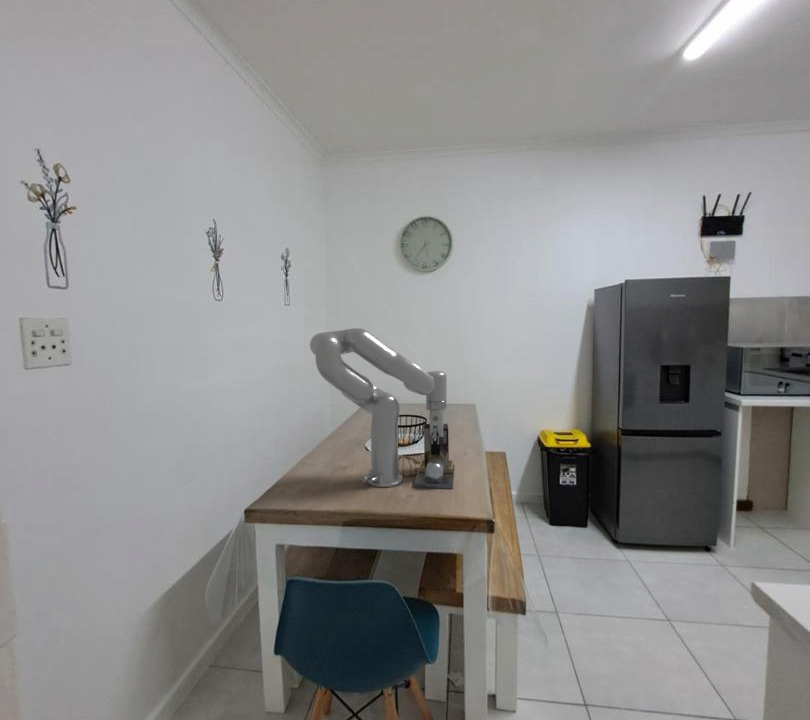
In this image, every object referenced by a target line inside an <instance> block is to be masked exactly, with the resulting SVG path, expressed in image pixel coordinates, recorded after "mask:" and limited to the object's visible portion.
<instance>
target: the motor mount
mask: <svg viewBox="0 0 810 720" xmlns="http://www.w3.org/2000/svg"><path fill="white" fill-rule="evenodd" d="M454 478H455V464H454V459H453V460H450V459H449V468H444V465H443V463H442V461H441V460H439V459H436V458H434V459H431V460H430V461H429V462H428V463H427V467H424V459H421V460H420V463H419V465H418V470H417V473H416V476H415V479H414V480H415V481H414V488H424V489H425V488H426V489H442V490H443V489H447V490H448V489H450V490H454V480H455V479H454Z"/></svg>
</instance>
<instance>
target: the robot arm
mask: <svg viewBox="0 0 810 720" xmlns="http://www.w3.org/2000/svg"><path fill="white" fill-rule="evenodd" d="M309 347H310V351H311V352H312V354H313V355H315V366H316V368H317V370H318V373H319V374H320V376H321V377H322V378H323V379H324V380H325V381H326V382H328V383H329V384H330V385H331V386H333V387H334V388H335V389H337V390H338V391H340V392H341V394H342V396H344V397H345V398H346V399H348V400H349V401H351V402H352V403H354V404H355V405H356V406H358V407H360V408H361V409H362V410H364V411H366V412H367V413H368V414H370V415H371V424H370V456H371V458H370V459H371V460H370V463H371V464H370V465H371V469H369V473H368V474H367V475H364V476H362V477H361V481H362V483H366V482H367V483H368V485H371V487H372V486H374V487H377V488H390V487H395V486H397V485H400V484H402V482H403V480H404V479H403V476H402V474H400V473H399V436H398V435H399V431H398V430H399V428H398V426H399V418H400V410H401V409H400V403H399V401H398V399H397V398H396V397H395V395H393V394H391V393H389V392H386V391H384V390H382V389H380V388H379V387H377V386H376V385H375V384H374V383H372V381H371V380H370V379H369V378H368V377H366V376H365V375H363V374H361V373H360V372H358V371H357V370H355V369H354V368H353V367H351V366H350V365H349V364H348V363H346V362H345V361H344V359H343V358H342V355H345V354H350V353H354V354H356V355H357V356H359V357H361V358H362V359H363V360H365V361H366V362H368V363H369V364H370V365H372V366H373V367H375V368H376V369H377V370H378V371H380V372H381V373H384V374H385V375H388V376H391V377H393V378H395V379H397V380H399V382H402V383H403V386H404V387H405V389H406V390H408V391H409V392H412V393H414V394H418V395H421V396H425V409H426V410H427V411H429V412H428V415H429V416H428V417H429V418H428V422H429V423H428V424H429V427H430V436H431V437H432V442H431V455H440V444H439V438H440V437H443V428H444V424H445V410H447V408H448V407H447V373H446V372H445V371H439V370H431V371H425V370H424V369H423V368H421V367H420V366H418V365H417V364H416V363H414V362H413V361H411V360H410V359H408V358H407V357H405V356H403V355H402V354H401V353H399V352H397V351H396V350H394V349H393V348H391V347H390V346H388V345H387V343H386V344H385V343H384V342H383V341H382V340H380V338H378V337H377V336H375V334H373V333H371V332H370V331H368V330H366V329H364V328H357V327H355V328H347V329H343V330H334V331H333V330H332V331H326V332H325V331H324V332H319V333H317V334H316V333H315V335H314V336H313V337H312V338H311V340H310V342H309ZM437 432H438V435H437ZM431 434H432V435H431ZM439 436H440V437H439ZM437 438H438V439H437Z"/></svg>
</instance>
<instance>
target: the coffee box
mask: <svg viewBox="0 0 810 720" xmlns="http://www.w3.org/2000/svg"><path fill="white" fill-rule="evenodd" d="M431 435H432V434H431ZM437 435H438V432H437ZM439 437H440V436H439ZM449 438H450V437H449V425H448V423H444V428H443V437H440V438H439V444H440V455H431V442H432V437H431V436H430V427H429V423H424V424H423V447H424V448H423V450H424V452H423V453H424V454H423V455H424V467H427V463H428V462H429V461H430V460H431V459H434V458H436V459H439V460H441V461H442V463H443V465H444V468H449V460H450V459H449V457H450V455H449V447H450V444H449ZM437 439H438V438H437Z"/></svg>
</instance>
